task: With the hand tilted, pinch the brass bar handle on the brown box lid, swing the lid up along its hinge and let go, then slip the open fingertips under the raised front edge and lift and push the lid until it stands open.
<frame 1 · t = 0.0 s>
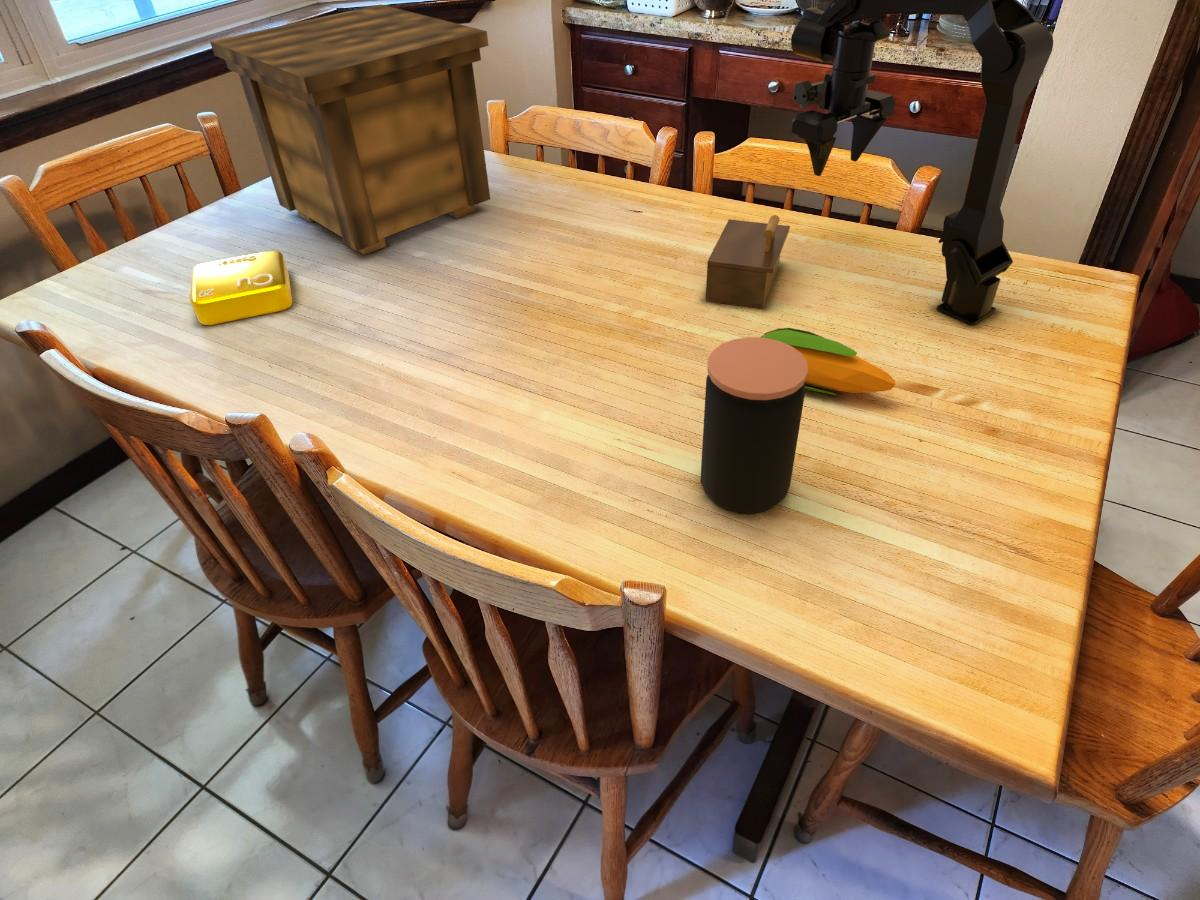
hand: (835, 167, 132), 15 cm above the table, tool pointing down, fingers open, 9 cm apart
brown wooden box: (743, 282, 134), on the table
crate: (387, 214, 161), on the table
corn: (818, 385, 111), on the table
coffee jar: (743, 488, 96), on the table
brown box lid: (750, 233, 128), point 9 cm above the table, hinge at 0.0°
element tile: (246, 298, 136), on the table
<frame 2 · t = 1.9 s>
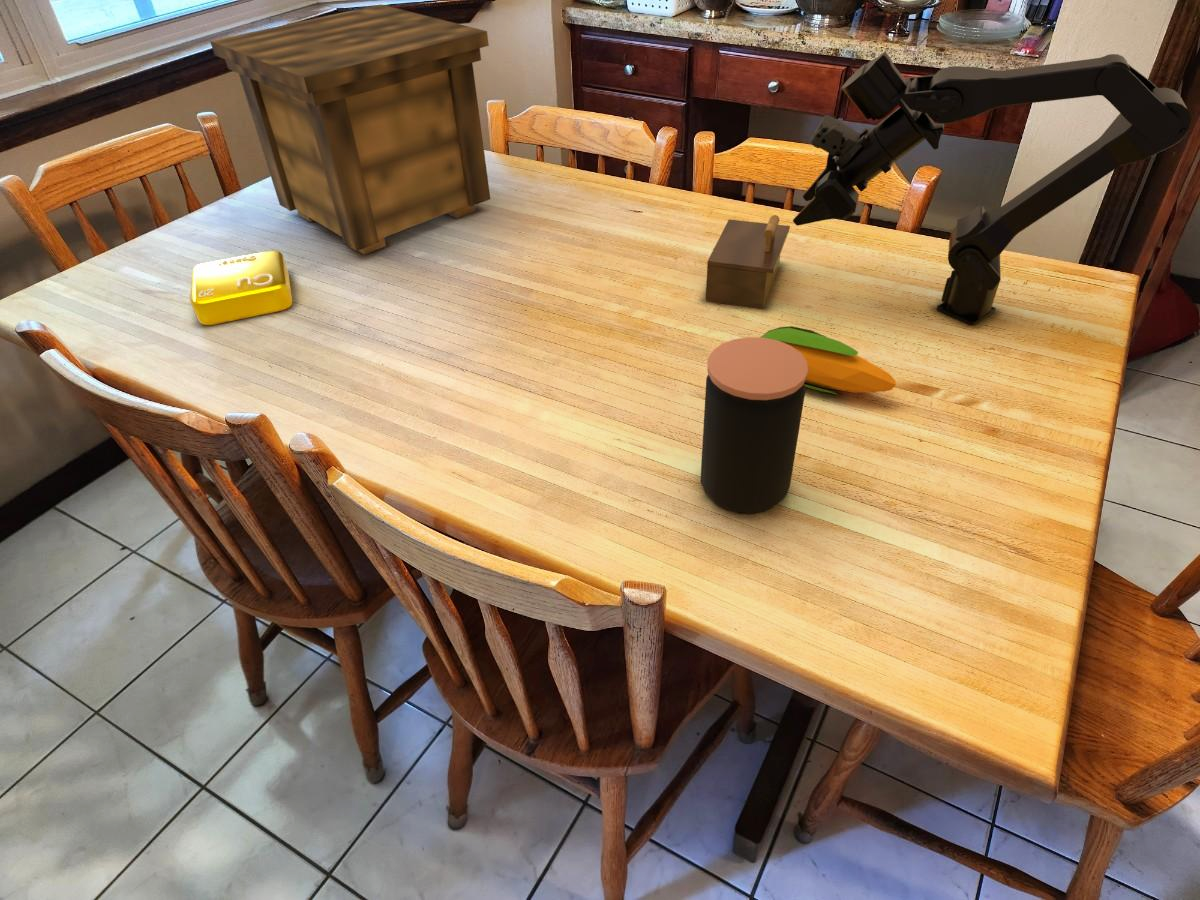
hand: (799, 210, 123), 13 cm above the table, tool tilted 45°, fingers open, 9 cm apart
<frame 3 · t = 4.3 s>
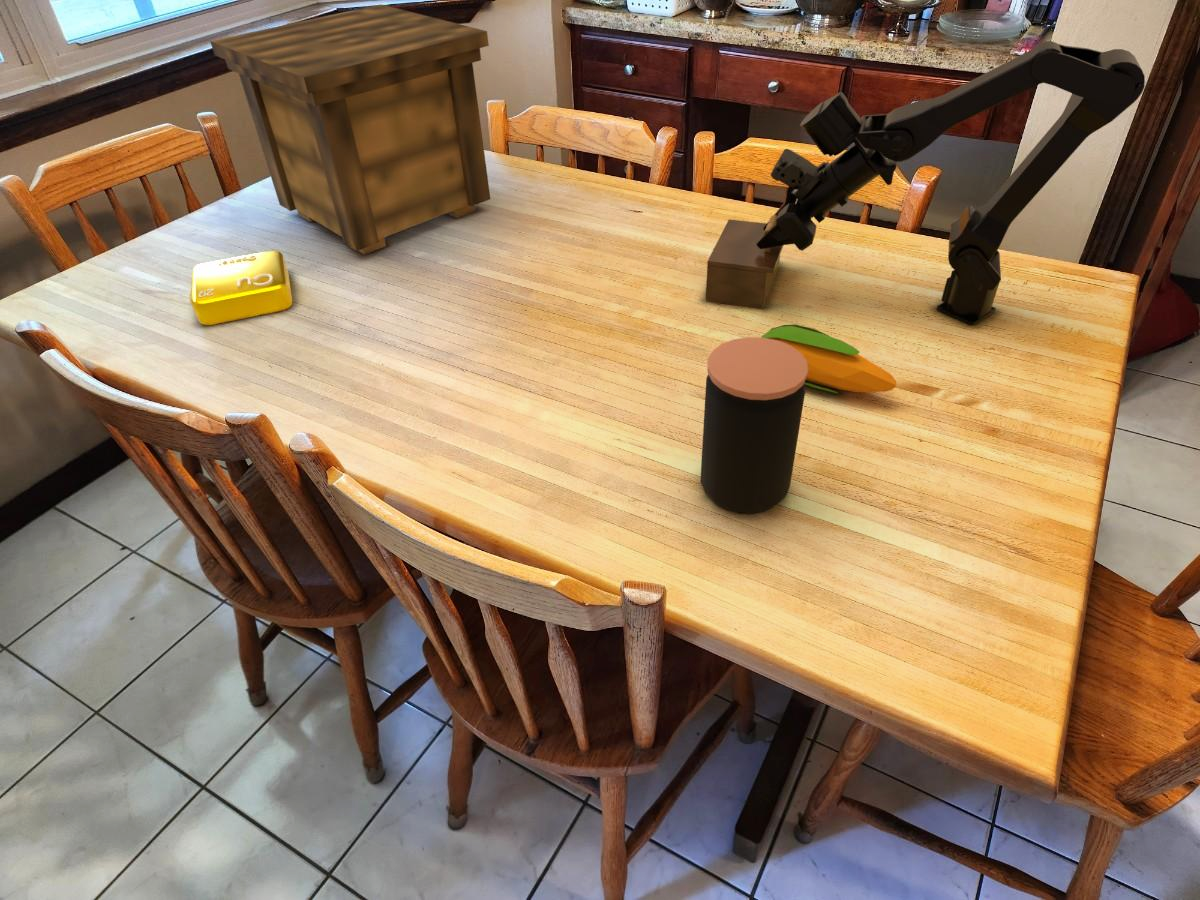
hand: (761, 238, 128), 8 cm above the table, tool tilted 45°, fingers closed on brown box lid, 5 cm apart
brown box lid: (750, 233, 128), point 9 cm above the table, hinge at 0.0°, touching gripper
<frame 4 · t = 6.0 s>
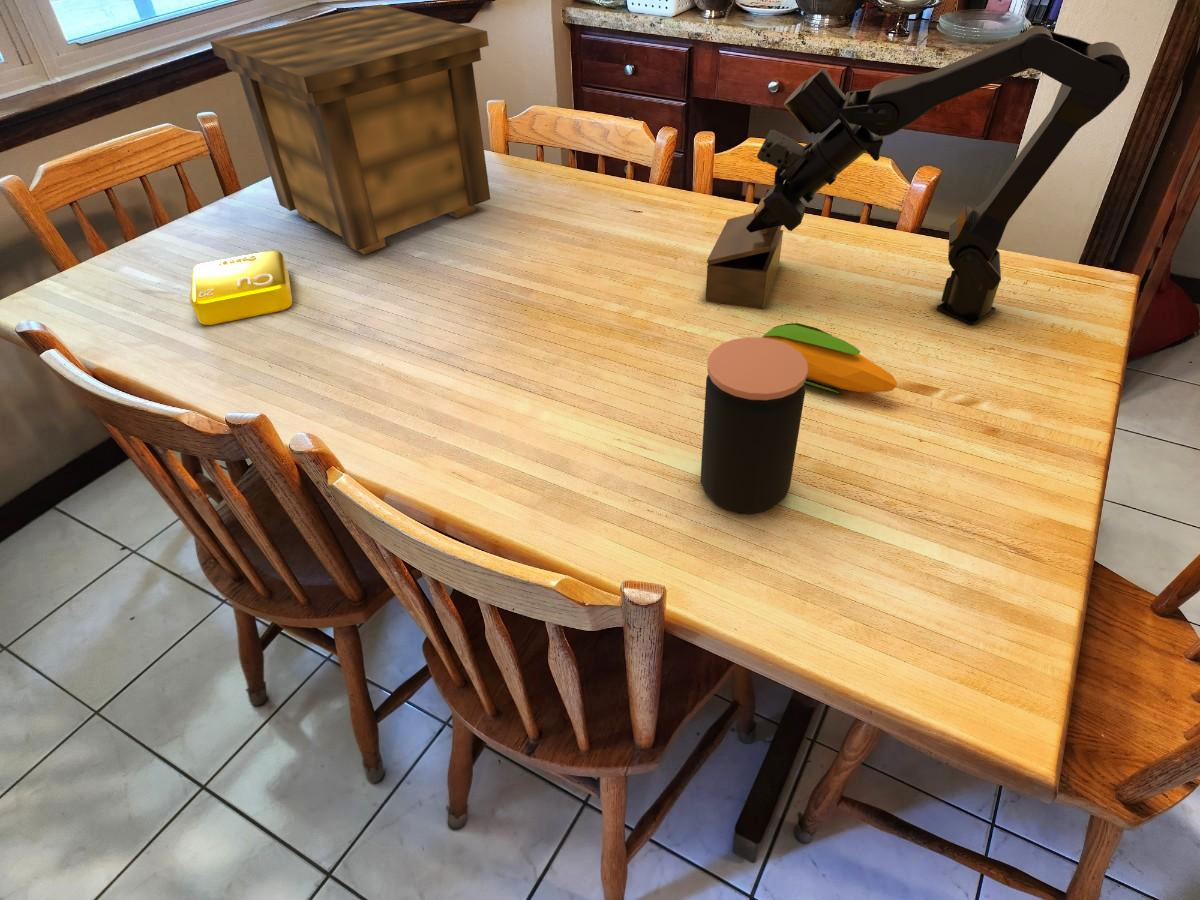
hand: (751, 222, 127), 11 cm above the table, tool tilted 40°, fingers closed on brown box lid, 5 cm apart
brown box lid: (745, 223, 127), point 11 cm above the table, hinge at 20.9°, touching gripper
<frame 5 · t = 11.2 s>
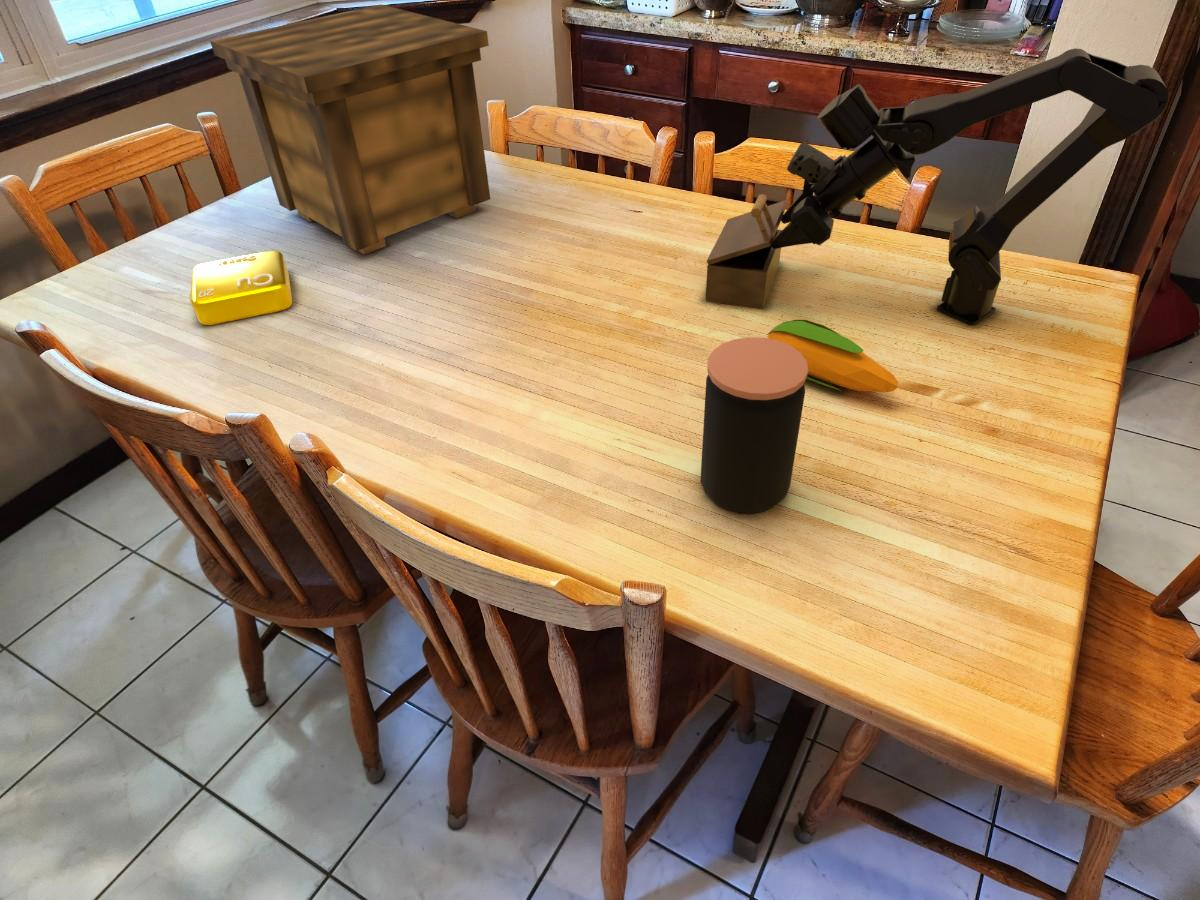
hand: (777, 233, 126), 9 cm above the table, tool tilted 45°
brown box lid: (743, 221, 127), point 11 cm above the table, hinge at 25.3°, touching gripper
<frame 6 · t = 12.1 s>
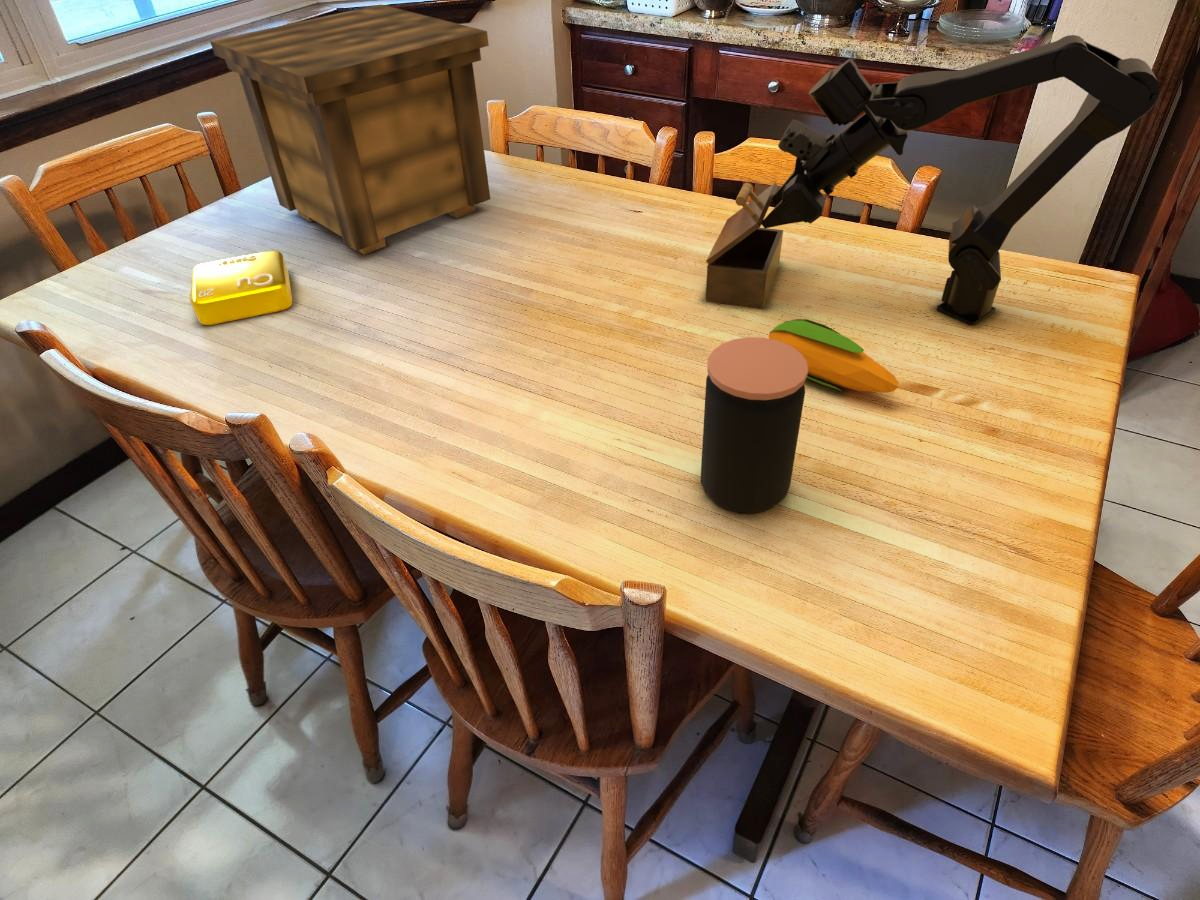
hand: (768, 213, 125), 13 cm above the table, tool tilted 45°
brown box lid: (734, 213, 127), point 12 cm above the table, hinge at 44.2°, touching gripper
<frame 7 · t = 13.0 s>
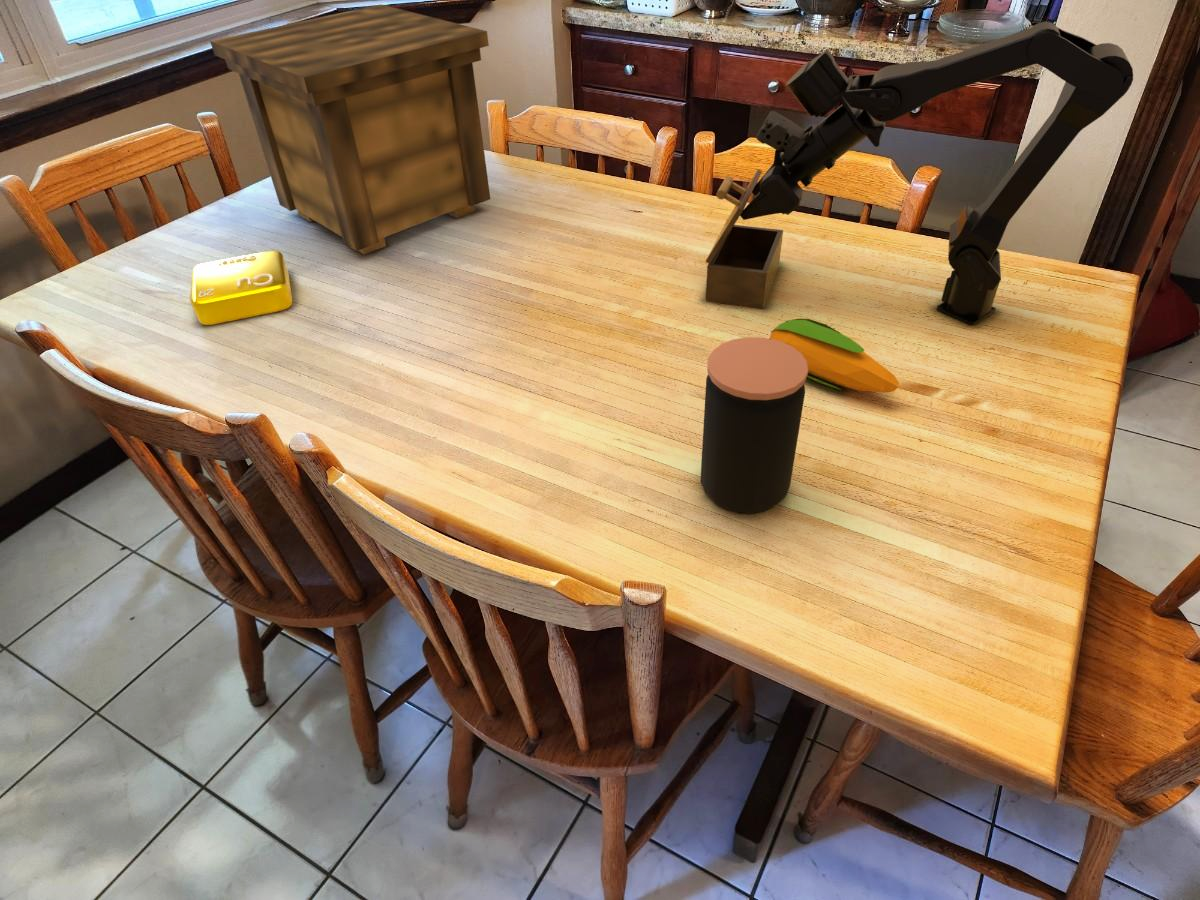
hand: (747, 204, 125), 14 cm above the table, tool tilted 45°
brown box lid: (723, 209, 127), point 12 cm above the table, hinge at 63.9°, touching gripper
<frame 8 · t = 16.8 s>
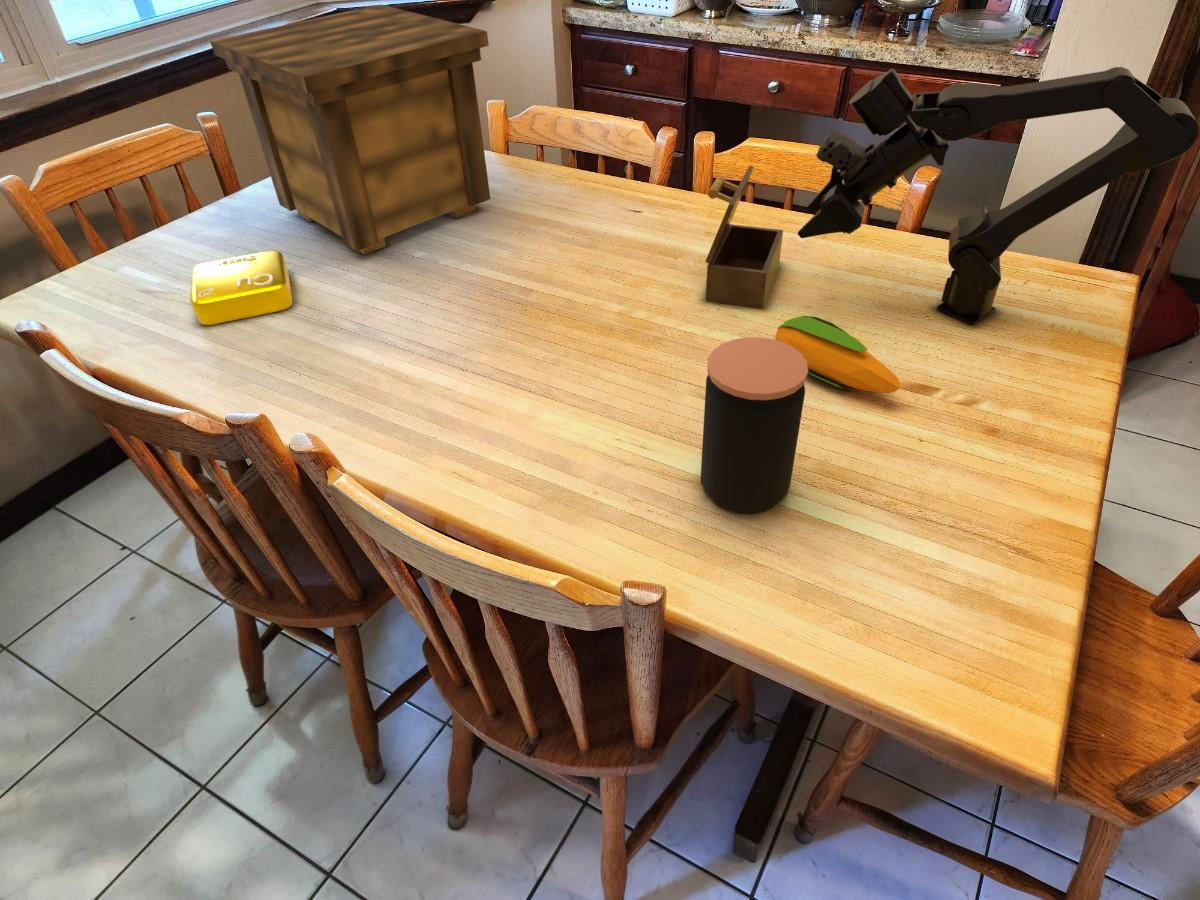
hand: (803, 222, 124), 12 cm above the table, tool tilted 45°, fingers open, 9 cm apart
brown box lid: (718, 208, 127), point 12 cm above the table, hinge at 72.3°
at the end: brown box lid at +72° (first picture: +0°); corn moved 3.0 cm from its start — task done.
